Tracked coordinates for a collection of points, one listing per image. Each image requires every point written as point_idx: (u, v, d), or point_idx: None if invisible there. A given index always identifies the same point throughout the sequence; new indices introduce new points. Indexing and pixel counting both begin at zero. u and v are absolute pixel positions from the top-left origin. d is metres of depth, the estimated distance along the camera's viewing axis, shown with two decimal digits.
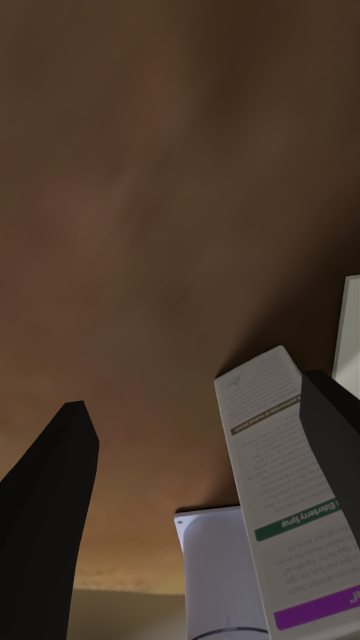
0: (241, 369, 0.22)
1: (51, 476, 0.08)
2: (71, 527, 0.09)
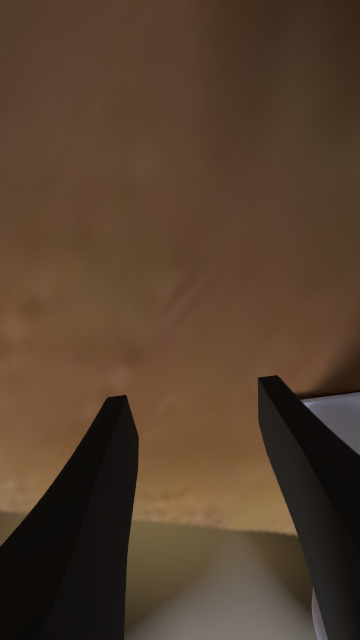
0: None
1: (107, 469, 0.08)
2: (122, 521, 0.09)
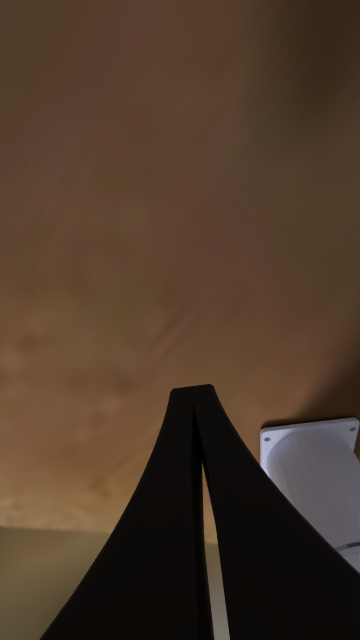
0: None
1: (193, 459, 0.08)
2: (200, 512, 0.08)
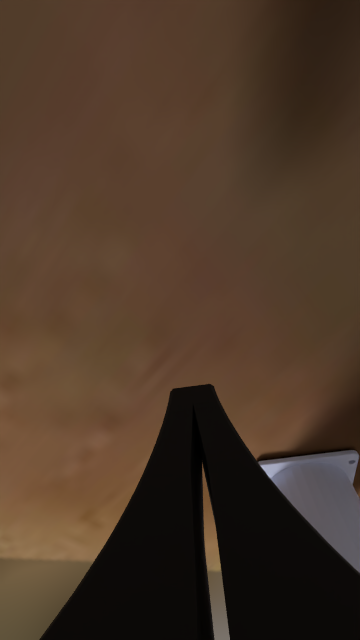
0: None
1: (193, 458, 0.08)
2: (200, 512, 0.08)
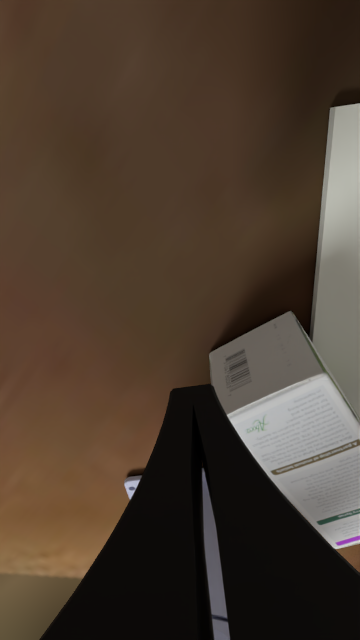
0: (262, 410, 0.14)
1: (193, 458, 0.08)
2: (200, 512, 0.08)
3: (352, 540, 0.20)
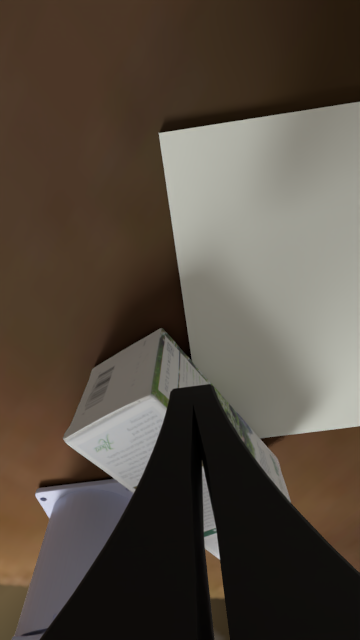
0: (103, 430, 0.15)
1: (192, 458, 0.08)
2: (200, 512, 0.08)
3: None
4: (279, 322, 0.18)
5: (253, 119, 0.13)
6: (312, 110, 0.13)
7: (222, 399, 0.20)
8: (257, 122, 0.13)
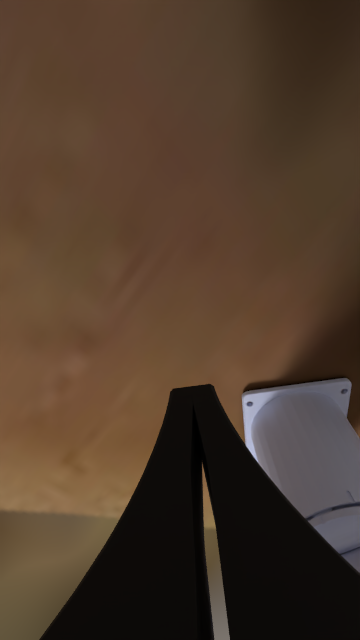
0: None
1: (192, 459, 0.08)
2: (200, 512, 0.08)
3: None
4: None
5: None
6: None
7: None
8: None
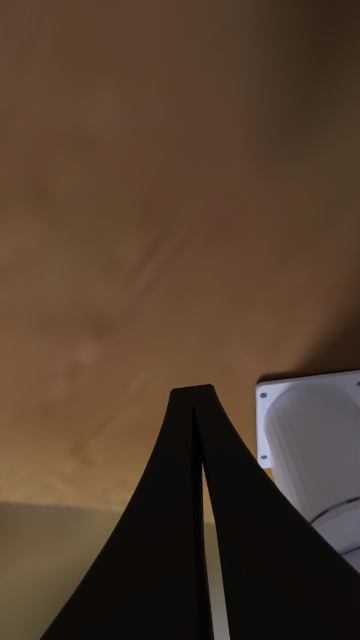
0: None
1: (193, 459, 0.08)
2: (200, 512, 0.08)
3: None
4: None
5: None
6: None
7: None
8: None
